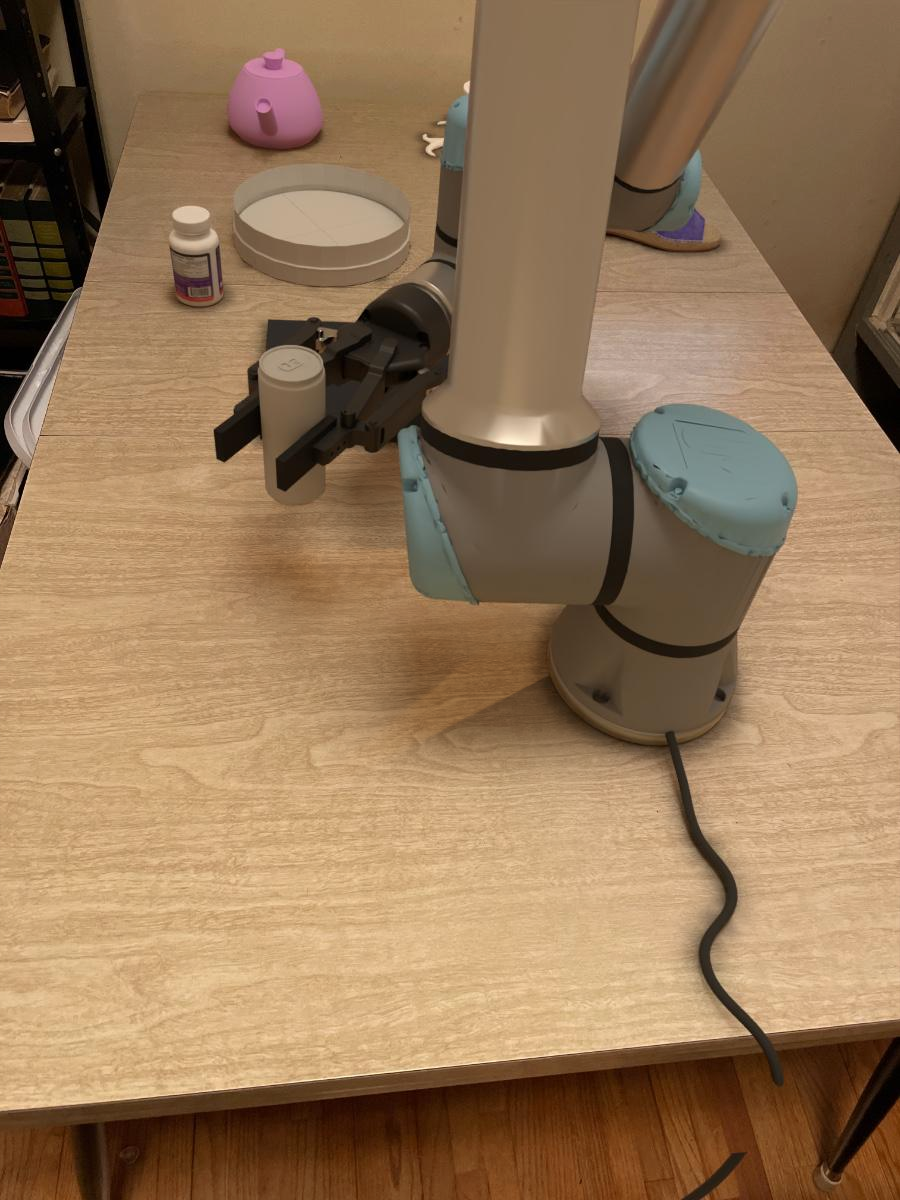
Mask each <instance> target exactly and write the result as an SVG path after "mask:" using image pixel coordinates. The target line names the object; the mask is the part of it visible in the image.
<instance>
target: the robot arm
mask: <svg viewBox="0 0 900 1200" xmlns="http://www.w3.org/2000/svg"><path fill="white" fill-rule="evenodd" d="M641 1H642V0H475V7H474V8H475V9H474V21H473V32H472V33H473V36H472V49H471V60H470V74H469V80H470V86H469V94H466V95H464V96H463V95H462V96H460V97H458V98H457V99H455V100H454V101H452V104H451V105H450V106H449V108H448V111H447V115H446V120H445V121H446V125H445V128H444V134H443V135H444V136H443V138H444V141H443V147H442V149H441V150H440V158H439V159H440V160H439V162H440V170H439V183H438V195H437V208H436V209H437V210H436V220H435V221H436V222H435V228H434V229H435V230H434V238H433V239H434V240H433V251H432V255H431V257H429V258H428V259H426V260H425V261H424V262H423V263H421V264H420V265H418V266H417V268H415V269H414V270H412V271H411V272H410V273H408V274H407V275H405V276H404V277H402V278H401V279H400V280H398V281H397V282H396V283H395V284H393V285H392V286H391V287H390V288H388V289H386V290H385V291H384V292H383V293H381V294H380V295H379V296H377V297H376V298H375V299H373V300H372V301H370V302H369V303H368V304H367V305H366V307H364V309H363V310H362V311H361V313H360V315H359V316H358V318H357V319H356V321H353V322H354V323H351V324H347V325H344V326H342V327H340V328H339V329H338V330H334V329H329V328H323V327H321V321H322V320H321V319H320V318H319V317H316V316H312V317H311V316H310V317H308V318H307V319H306V320H305V321H306V322H305V324H304V326H303V328H302V330H301V331H299V332H298V333H297V334H295V335H294V336H292V337H291V338H290V339H288V340H287V341H285V342H284V343H283V344H281V345H280V346H284V345H297V346H303V347H306V348H309V349H311V350H313V351H315V352H316V353H318V354H319V355H320V357H321V358H322V360H323V366H324V368H325V387H327V386H330V385H332V384H334V385H335V386H340V385H342V384H344V383H346V382H348V381H350V380H355V381H359V382H360V383H361V385H360V386H359V388H358V389H357V391H356V392H355V394H354V396H353V397H352V399H351V400H350V402H349V404H348V405H347V407H346V408H345V409H344V412H343V411H342V408H341V409H340V422H339V423H338V424H337V418H336V417H334V416H331V415H329V414H328V415H327V416H326V417H325V418H324V419H322V420H321V421H320V422H319V423H318V424H316V425H315V426H314V427H313V428H312V429H310V430H309V431H308V432H307V433H306V434H304V435H303V436H302V437H301V438H300V439H298V440H297V441H296V442H295V443H294V444H293V445H291V446H290V447H289V448H288V449H287V450H285V451H284V452H283V453H282V454H281V455H279V456H278V457H277V458H276V459H275V460H276V480H277V488H278V489H280V490H282V491H284V492H286V491H287V490H288V489H289V488H290V487H292V486H293V485H294V484H295V483H296V482H297V481H298V480H299V479H301V478H302V477H303V476H304V475H305V474H306V473H307V472H309V471H310V470H311V469H312V468H313V467H314V466H315V465H316V464H320V465H322V466H325V465H326V466H328V465H329V464H331V463H332V462H333V461H335V459H337V458H338V457H339V456H340V455H341V454H342V453H344V451H346V450H347V449H352V448H354V447H356V446H360V447H363V450H364V451H365V452H367V453H369V454H375V453H378V452H379V451H381V450H382V449H383V448H384V447H385V446H386V445H387V444H389V441H390V440H391V439H392V438H393V437H394V436H395V435H396V434H397V433H398V432H399V431H400V432H399V433H398V442H397V449H398V460H399V461H398V462H399V473H400V482H401V493H402V494H401V495H402V505H403V518H404V529H405V531H404V532H405V541H406V552H407V564H408V574H409V578H410V582H411V584H412V586H413V588H414V589H415V590H416V591H417V592H418V593H419V594H420V595H421V596H423V597H425V598H428V599H430V600H440V601H453V602H467V603H469V605H473V606H480V603H489V604H492V603H493V604H494V603H495V604H528V605H529V604H532V605H533V604H535V605H540V604H541V605H565V607H564V608H563V610H562V611H561V612H560V614H559V615H558V618H557V619H556V621H555V622H554V625H553V627H552V630H551V634H550V638H549V642H548V646H547V647H548V648H547V653H546V655H547V657H546V659H547V668H548V672H549V676H550V679H551V681H552V684H553V686H554V688H555V689H556V692H557V693H558V695H559V696H560V698H561V699H562V700H563V701H564V703H565V704H566V705H567V706H568V708H570V710H571V711H572V712H574V713H575V714H576V715H577V716H578V717H579V718H580V719H581V720H583V721H584V722H586V723H587V724H588V725H590V726H592V727H593V728H595V729H597V730H599V731H601V732H602V733H604V734H607V735H609V736H611V737H613V738H616V739H619V740H622V741H625V742H629V743H632V744H633V743H634V744H639V745H646V746H647V745H648V746H668V750H669V754H670V756H671V761H672V764H673V768H674V773H675V776H676V780H677V783H678V787H679V792H680V797H681V803H682V807H683V811H684V815H685V819H686V822H687V826H688V828H689V830H690V833H691V835H692V837H693V839H694V842H695V843H696V845H697V846H698V847H699V849H700V851H702V853H703V854H704V856H706V858H707V859H708V860H709V861H710V862H711V864H712V865H713V866H714V867H715V868H716V870H717V872H718V873H719V874H720V876H721V877H722V879H723V881H724V885H725V888H726V889H725V890H726V899H725V903H724V906H723V908H722V909H721V911H720V913H718V915H717V917H716V918H715V919H714V920H713V921H712V923H711V924H710V925H709V926H708V928H707V929H706V930H705V932H704V934H703V936H702V938H701V940H700V944H699V948H698V960H699V961H698V962H699V967H700V969H701V973H702V975H703V977H704V980H705V982H706V984H707V985H708V987H709V989H710V990H711V992H712V993H713V994H714V996H715V997H716V998H717V999H718V1001H719V1002H720V1003H721V1004H722V1005H723V1006H724V1007H725V1009H726V1010H727V1011H728V1012H729V1013H730V1014H731V1015H732V1016H733V1017H734V1018H735V1019H736V1020H737V1021H738V1022H739V1023H740V1024H741V1025H742V1026H743V1027H744V1028H745V1029H746V1030H747V1031H748V1032H749V1034H750V1035H751V1036H752V1037H753V1038H754V1039H755V1041H756V1042H757V1044H758V1045H759V1047H760V1048H761V1050H762V1052H763V1054H764V1055H765V1059H766V1061H767V1063H768V1067H769V1071H770V1076H771V1080H772V1082H773V1083H774V1085H775V1086H777V1087H778V1088H780V1087H783V1086H784V1083H785V1079H784V1078H785V1077H784V1071H783V1067H782V1064H781V1061H780V1057H779V1055H778V1053H777V1050H776V1049H775V1047H774V1045H773V1043H772V1041H771V1039H769V1037H768V1036H767V1034H766V1033H765V1032H764V1030H763V1029H762V1027H760V1026H759V1024H758V1023H757V1022H756V1021H755V1020H754V1019H753V1017H751V1016H750V1014H748V1012H746V1011H745V1010H744V1008H742V1007H741V1006H740V1005H739V1004H738V1002H736V1001H735V999H734V998H732V997H731V995H730V994H729V993H728V992H727V990H725V988H724V987H723V986H722V985H721V983H720V982H719V980H718V978H717V976H716V974H715V971H714V969H713V966H712V965H713V964H712V961H711V950H712V946H713V943H714V941H715V939H716V937H717V936H718V934H719V933H720V932H721V931H722V930H723V928H724V927H725V926H726V925H727V924H728V922H729V921H730V919H731V918H732V917H733V915H734V913H735V912H736V909H737V905H738V900H739V899H738V898H739V896H738V887H737V884H736V880H735V877H734V875H733V874H732V871H731V870H730V868H729V866H728V865H727V864H726V863H725V861H724V860H723V859H722V858H721V856H720V855H719V854H718V853H717V852H716V851H715V849H714V848H713V847H712V846H711V845H710V844H709V842H708V841H707V839H706V838H705V836H704V834H703V832H702V829H701V828H700V825H699V822H698V818H697V816H696V812H695V807H694V804H693V803H694V802H693V800H692V794H691V790H690V785H689V781H688V777H687V774H686V773H687V772H686V769H685V765H684V762H683V759H682V756H681V752H680V748H679V745H678V744H681V743H685V742H688V741H692V740H694V739H696V738H698V737H701V736H702V735H704V734H706V733H707V732H708V731H710V730H712V728H713V727H715V726H716V724H717V723H718V722H719V721H720V720H721V719H722V717H723V716H724V715H725V712H726V711H727V708H728V707H729V704H730V703H731V701H732V699H733V696H734V694H735V691H736V686H737V681H738V672H739V670H738V667H739V666H738V664H739V663H738V662H739V661H738V652H739V651H738V650H739V649H738V648H739V647H738V646H739V645H738V632H739V630H740V628H741V626H742V623H743V621H744V620H745V617H746V616H747V613H748V611H749V610H750V608H751V606H752V603H753V601H754V599H755V597H756V596H757V593H758V591H759V589H760V587H761V586H762V583H763V581H764V579H765V577H766V575H767V573H768V571H769V569H770V567H771V564H772V562H773V560H774V558H775V557H776V554H777V553H778V552H779V551H780V550H781V549H782V548H783V546H784V544H785V543H786V541H787V534H788V531H789V528H790V525H791V523H792V519H793V516H794V514H795V511H796V507H797V504H798V500H799V499H798V498H799V489H798V483H797V478H796V475H795V473H794V470H793V468H792V466H791V464H790V462H789V460H788V459H787V457H786V456H785V455H784V453H783V452H782V451H781V450H780V449H779V448H778V446H777V445H776V444H775V443H773V441H772V440H771V439H769V437H767V436H765V435H764V434H763V433H761V432H760V431H758V430H757V429H755V428H754V427H753V426H752V425H750V424H748V423H747V422H746V421H744V420H742V419H740V418H738V417H736V416H733V415H732V414H729V413H726V412H724V411H721V410H718V409H716V408H712V407H709V406H705V405H699V404H693V403H670V404H669V403H668V404H664V405H660V406H657V407H655V409H653V411H648V412H646V413H644V415H642V416H641V417H640V419H639V420H638V421H637V422H636V423H635V425H634V426H633V427H632V430H631V431H630V435H629V437H624V436H623V437H622V436H620V437H617V436H600V433H601V425H602V424H601V417H600V414H599V413H598V412H597V410H596V409H595V408H594V407H593V406H592V404H591V403H590V402H589V400H588V399H587V397H586V396H585V395H584V394H583V387H584V380H585V373H586V368H587V367H586V366H587V359H588V353H589V348H590V347H589V346H590V340H591V333H592V328H593V327H592V326H593V320H594V314H595V308H596V301H597V293H598V287H599V280H600V273H601V266H602V261H603V255H604V254H603V253H604V247H605V240H606V234H607V233H606V228H608V229H621V230H632V231H635V232H641V233H646V232H649V231H675V230H678V229H680V228H682V227H683V226H684V225H685V224H686V223H687V222H688V221H689V220H690V218H691V216H692V214H693V212H694V208H695V206H696V204H697V203H696V202H698V200H699V197H700V192H701V187H702V177H703V160H702V154H701V151H700V149H699V148H700V146H701V144H702V143H703V141H704V139H705V137H706V136H707V134H708V133H709V131H710V130H711V128H712V126H713V124H714V123H715V121H716V119H717V118H718V117H719V114H720V113H721V111H722V110H723V108H724V107H725V104H726V103H727V101H728V100H729V98H730V97H731V95H732V93H733V91H735V88H736V87H737V85H738V83H739V82H740V80H741V79H742V77H743V75H744V74H745V72H746V70H747V69H748V67H749V65H751V62H752V61H753V59H754V57H755V56H756V54H757V52H758V51H759V49H760V47H761V45H762V44H763V42H764V41H765V39H766V37H767V35H768V34H769V32H770V31H771V29H772V28H773V26H774V24H775V23H776V21H777V19H778V18H779V16H780V14H781V13H782V11H783V10H784V8H785V6H786V5H787V3H788V1H789V0H658V1H657V3H656V5H655V7H654V10H653V12H652V15H651V18H650V20H649V21H648V24H647V26H646V29H645V32H644V34H643V36H642V38H641V41H640V43H639V45H638V47H637V49H636V52H635V55H634V57H633V53H634V47H635V40H636V33H637V27H638V20H639V15H640V14H639V13H640V8H641ZM324 349H325V351H324ZM448 354H449V363H448V377H447V379H446V380H445V371H444V370H442V369H433V368H434V367H435V366H436V365H437V364H438V363H439V362H440V361H442V360H443V359H444V357H445V356H446V355H448ZM258 368H259V360H257V361H255V362H254V363H253V364H252V365H250V366H248V368H246V369H247V370H246V372H247V386H248V395H247V396H246V397H245V398H243V399H241V401H239V402H238V403H236V404H235V405H234V406H233V410H232V411H233V412H232V413H233V414H232V415H230V416H229V417H228V418H227V419H225V420H224V421H222V422H221V423H220V424H218V425H217V426H216V427H215V428H213V439H214V440H213V441H214V449H215V458H216V460H217V461H219V462H221V463H226V462H228V461H229V460H231V458H232V457H234V456H235V455H236V454H238V453H239V452H240V451H241V450H243V449H244V448H245V447H247V446H248V445H249V444H250V443H251V442H252V441H254V440H256V438H257V437H260V434H261V433H262V428H261V413H260V398H259V382H258ZM431 369H432V370H431ZM404 384H406V385H405V386H404V387H403V388H401V389H400V390H399V391H398V392H397V393H396V394H395V395H394V396H392V397H391V398H390V399H389V400H388V401H387V402H386V403H385V404H384V405H382V406H381V407H380V408H379V409H378V410H377V411H376V409H377V407H378V406H379V404H380V403H383V402H384V400H385V398H386V397H387V395H388V393H389V392H390V390H391V389H393V387H394V386H399V385H404ZM375 411H376V412H375ZM374 412H375V413H374ZM420 412H421V426H420V428H418V427H417V426H414V425H411V426H410V427H409V428H404V427H405V426H406V425H407V424H408V423H409V422H410V421H411V420H412V419H413V418H414V417H415V416H416V415H417V414H419V413H420ZM403 428H404V429H403ZM747 1154H748V1151H742V1152H741V1151H740V1152H732V1153H731V1154H730V1155H729V1156H728V1157H727V1158H726V1159H725V1161H724V1162H723V1163H722V1164H721V1166H719V1168H717V1169H716V1171H714V1172H713V1174H712V1175H710V1176H709V1177H708V1178H707V1179H706V1180H705V1181H704V1182H702V1183H701V1184H700V1185H699V1186H697V1187H696V1188H695V1189H694V1190H692V1191H691V1192H690V1193H688V1194H687V1195H685V1196H683V1198H681V1199H680V1200H703V1198H705V1197H706V1196H708V1195H709V1194H710V1193H711V1192H713V1191H714V1190H715V1189H717V1187H718V1186H719V1185H721V1184H722V1183H723V1182H724V1181H725V1180H726V1179H727V1178H728V1177H729V1176H730V1175H731V1173H732V1172H733V1171H734V1170H735V1169H736V1168H737V1167H738V1166H739V1164H740V1163H741V1162H742V1161H743V1159H744V1157H745V1156H746V1155H747Z"/></svg>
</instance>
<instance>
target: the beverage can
mask: <svg viewBox="0 0 900 1200" xmlns="http://www.w3.org/2000/svg"><path fill="white" fill-rule="evenodd" d="M258 361H259V368H258V382H259V398H260V413H261V428H262V439H261V441H262V442H261V443H262V456H263V457H262V458H263V473H264V474H263V475H264V488H265V490H266V493H267V495H268V496H270V497H271V499H272V500H274V501H275V502H277V503H279V504H280V505H283V506H286V507H288V506H289V507H301V506H307V505H309V504H311V503H314V502H315V501H317V499H319V498H320V497H321V496H322V495H323V494H324V492H325V490H326V486H327V485H326V484H327V483H326V479H327V477H326V476H327V475H326V474H327V473H326V468H327V467H326V466H327V465H325V466H322V465H320V464H316V465H315V466H314V467H313V468H312V469H311V470H310V471H309V472H307V473H306V474H305V475H304V476H303V477H302V478H301V479H299V480H298V481H297V482H296V483H295V484H294V485H293V486H292V487H290V488H289V489H288V490H287V491H286V492H284V491H282V490H280V489H278V488H277V480H276V460H275V459H276V458H277V457H278V456H279V455H281V454H282V453H283V452H284V451H285V450H287V449H288V448H289V447H290V446H291V445H293V444H294V443H295V442H296V441H297V440H298V439H300V438H301V437H302V436H303V435H304V434H306V433H307V432H308V431H309V430H310V429H312V428H313V427H314V426H315V425H316V424H318V423H319V422H320V421H321V420H322V419H324V418H325V368H324V366H323V360H322V358H321V357H320V355H319V354H318V353H316V352H315V351H313V350H311V349H309V348H306V347H303V346H297V345H284V346H278V347H275V348H272V349H270V350H268V351H266V350H265V351H264V352H263V354H262V355H261V356H260V358H259V360H258Z"/></svg>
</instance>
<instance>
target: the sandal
mask: <svg viewBox="0 0 900 1200" xmlns="http://www.w3.org/2000/svg"><path fill="white" fill-rule="evenodd" d="M606 234H611V235H614V236H615V235H616V236H619V237H623V238H625V239H629V240H633V241H635V242H638V243H642V244H645V245H648V246H650V247H654V248H657V249H661V250H664V251H670V252H683V253H695V252H706V251H710V250H714V249H716V248H717V247H719V245H720V243H721V241H722V238H723V233H722V231H721V230H720V229H719V228H717V227H715V226H714V225H712V224H709V223H706V218H705V217H704V216H703V215H702V214H700V212H699V211H698V210H697V209H696V208H695V207H694V212H693V214H692V216H691V218H690V220H689V221H688V222H687V223H686V224H685V225H684V226H683V227H682V228H680V229H678V230H675V231H649V232H646V233H641V232H635V231H632V230H621V229H608V228H606Z"/></svg>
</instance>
